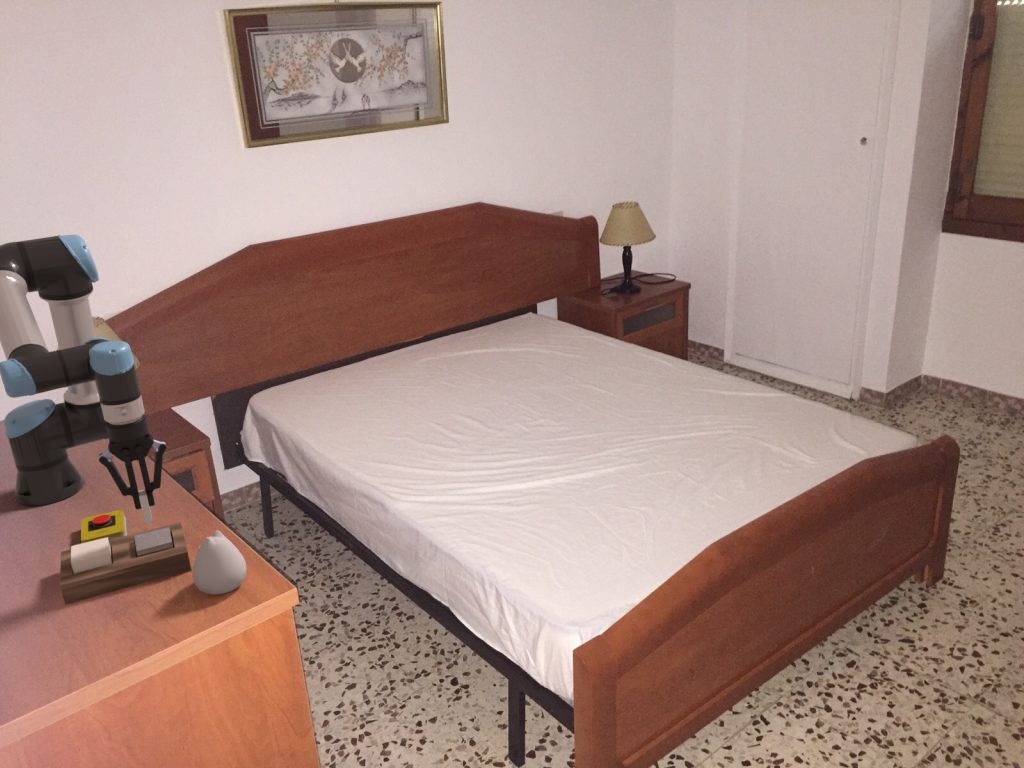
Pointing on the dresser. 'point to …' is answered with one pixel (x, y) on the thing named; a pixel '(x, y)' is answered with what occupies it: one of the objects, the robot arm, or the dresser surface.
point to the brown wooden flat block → (124, 567)
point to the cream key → (91, 555)
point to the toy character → (218, 565)
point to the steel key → (153, 542)
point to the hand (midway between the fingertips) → (148, 519)
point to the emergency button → (103, 526)
